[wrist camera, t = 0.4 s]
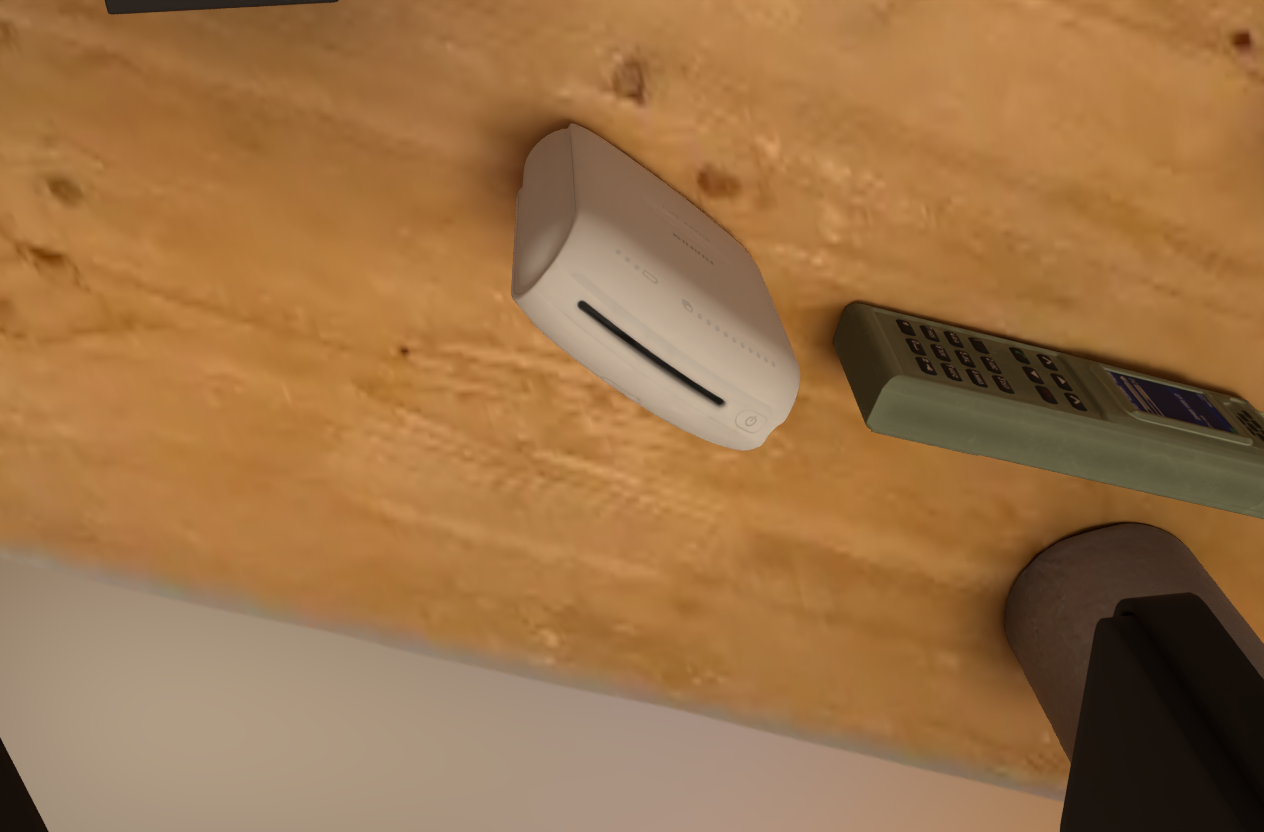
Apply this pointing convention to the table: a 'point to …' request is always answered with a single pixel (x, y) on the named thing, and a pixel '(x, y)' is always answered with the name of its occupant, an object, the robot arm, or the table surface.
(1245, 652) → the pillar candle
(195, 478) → the table surface
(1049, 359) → the handheld radio
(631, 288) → the photo printer
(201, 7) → the box with yellow tab
